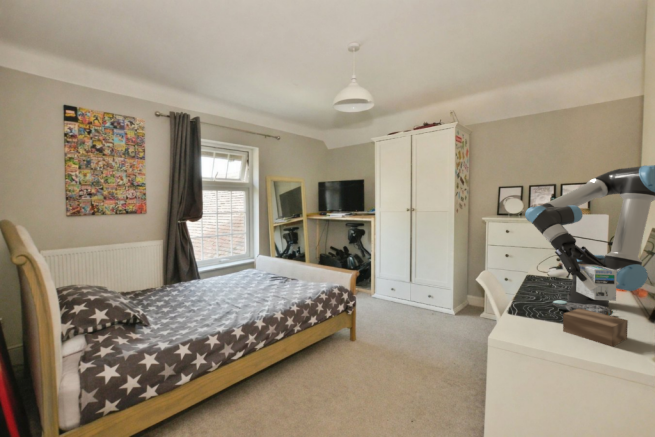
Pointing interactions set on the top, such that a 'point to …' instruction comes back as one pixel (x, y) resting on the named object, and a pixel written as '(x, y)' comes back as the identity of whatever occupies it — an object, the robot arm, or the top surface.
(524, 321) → the top surface
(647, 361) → the top surface
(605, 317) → the walnut block
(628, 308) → the top surface
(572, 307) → the toy aircraft
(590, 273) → the light bulb box
